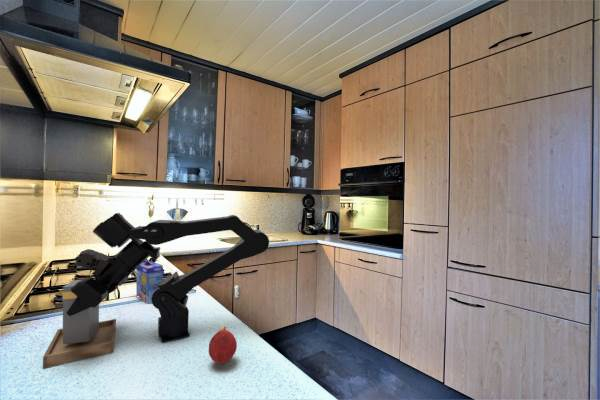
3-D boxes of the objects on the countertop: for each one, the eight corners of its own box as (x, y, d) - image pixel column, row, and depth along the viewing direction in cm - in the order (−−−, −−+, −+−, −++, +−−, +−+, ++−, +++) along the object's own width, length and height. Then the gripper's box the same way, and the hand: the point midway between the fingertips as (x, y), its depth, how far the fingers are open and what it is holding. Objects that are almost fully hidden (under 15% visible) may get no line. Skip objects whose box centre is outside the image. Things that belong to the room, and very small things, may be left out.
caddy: (99, 330, 70) (99, 278, 69) (88, 341, 64) (88, 285, 64) (75, 332, 68) (75, 280, 68) (62, 344, 63) (62, 287, 63)
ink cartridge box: (134, 297, 98) (135, 256, 98) (151, 293, 102) (151, 254, 102) (146, 304, 92) (147, 260, 92) (163, 300, 96) (164, 258, 96)
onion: (237, 370, 57) (237, 331, 57) (207, 374, 56) (208, 334, 56) (235, 354, 63) (236, 319, 63) (208, 358, 61) (209, 322, 61)
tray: (116, 327, 75) (116, 318, 75) (113, 352, 63) (113, 341, 63) (57, 339, 69) (58, 329, 69) (42, 368, 57) (43, 357, 57)
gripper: (115, 233, 76) (67, 276, 73) (82, 244, 58) (16, 302, 55) (147, 260, 78) (102, 303, 75) (124, 279, 60) (64, 336, 57)
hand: (74, 309), depth 66 cm, fingers closed on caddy, 5 cm apart
